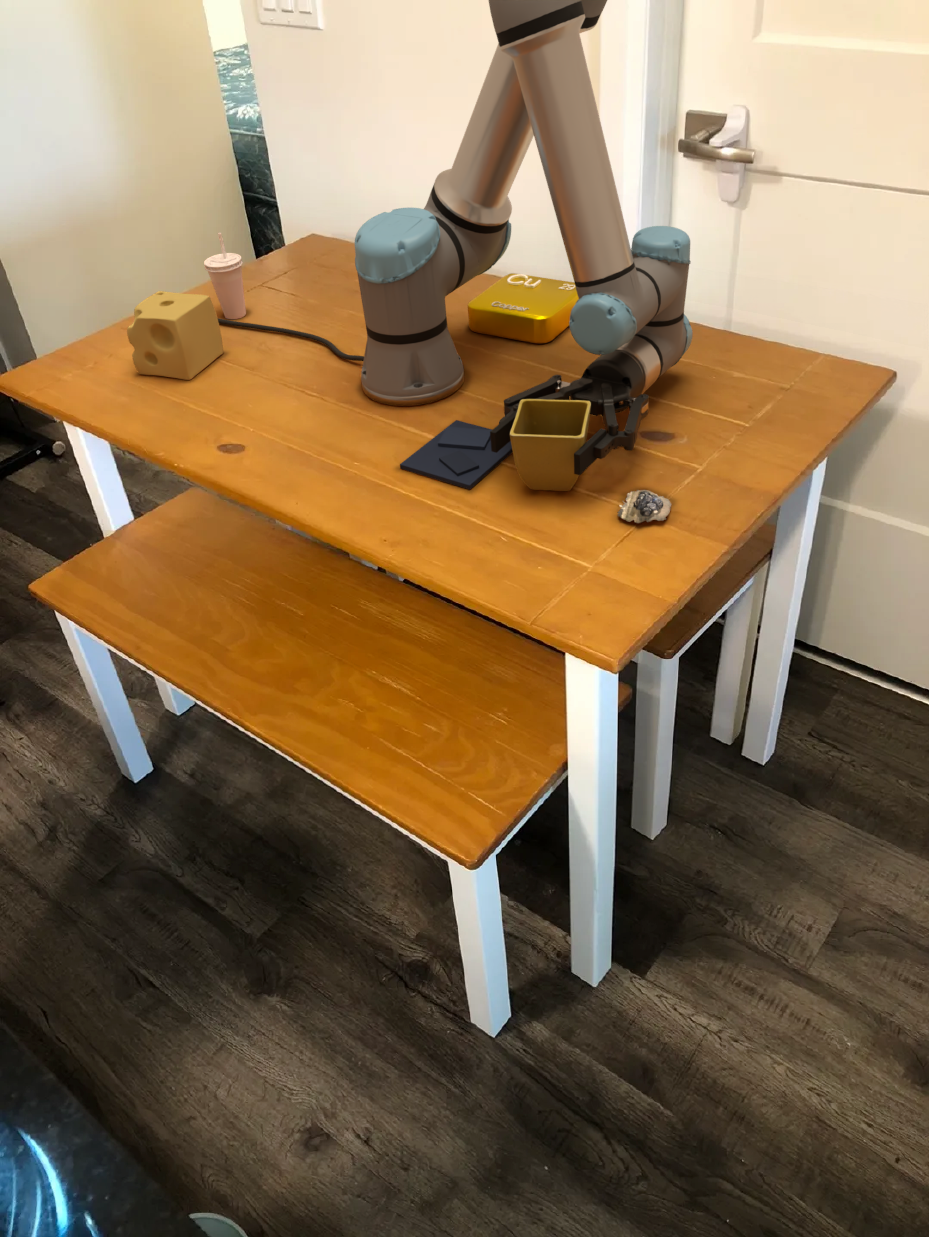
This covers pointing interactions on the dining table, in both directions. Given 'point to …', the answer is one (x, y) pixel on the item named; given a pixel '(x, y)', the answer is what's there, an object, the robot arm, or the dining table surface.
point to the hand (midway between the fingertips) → (534, 453)
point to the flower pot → (549, 441)
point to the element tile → (523, 308)
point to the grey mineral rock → (644, 507)
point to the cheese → (175, 335)
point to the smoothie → (227, 281)
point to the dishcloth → (457, 455)
